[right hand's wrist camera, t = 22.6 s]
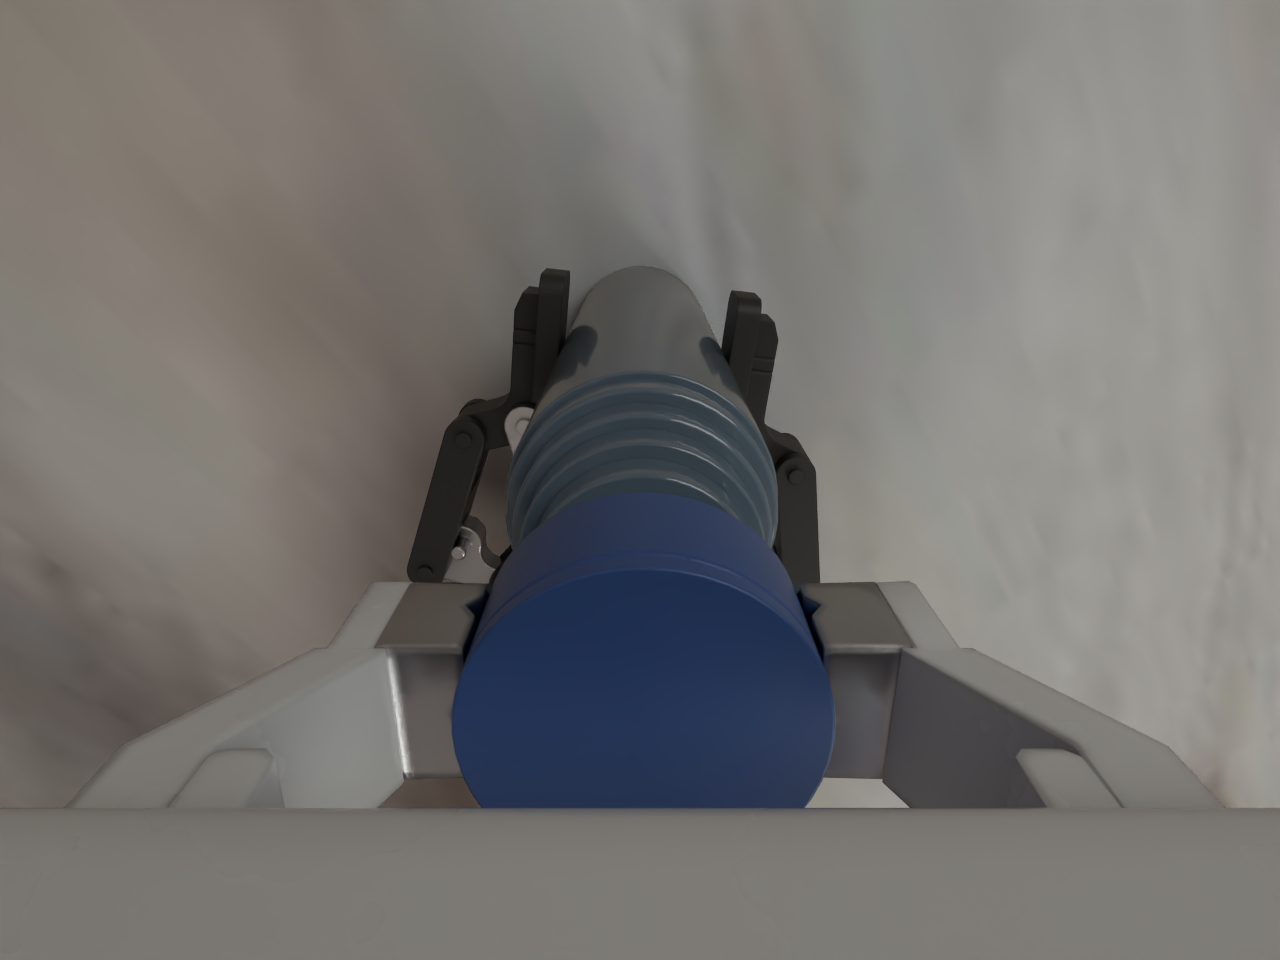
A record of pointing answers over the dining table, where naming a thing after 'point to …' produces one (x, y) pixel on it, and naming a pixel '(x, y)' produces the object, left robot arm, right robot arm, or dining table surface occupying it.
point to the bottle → (641, 413)
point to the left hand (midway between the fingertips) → (650, 286)
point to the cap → (643, 667)
